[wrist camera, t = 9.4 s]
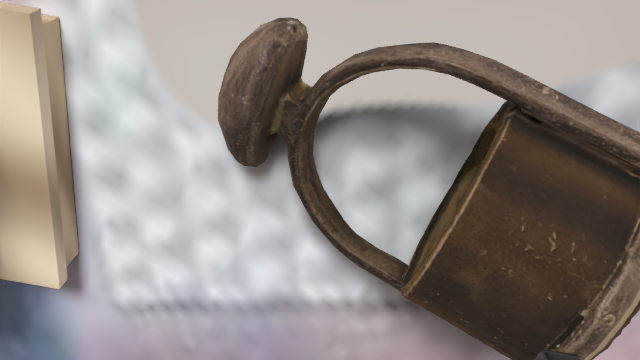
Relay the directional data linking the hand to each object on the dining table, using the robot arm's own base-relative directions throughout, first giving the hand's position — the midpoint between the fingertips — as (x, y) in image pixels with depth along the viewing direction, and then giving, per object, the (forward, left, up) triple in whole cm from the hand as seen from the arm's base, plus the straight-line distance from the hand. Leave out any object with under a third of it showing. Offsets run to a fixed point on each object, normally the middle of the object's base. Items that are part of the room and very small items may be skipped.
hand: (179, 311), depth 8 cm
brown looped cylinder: (-2, -5, -12) cm, 13 cm away
